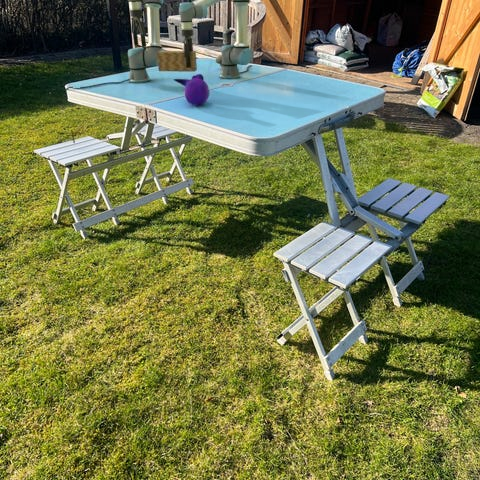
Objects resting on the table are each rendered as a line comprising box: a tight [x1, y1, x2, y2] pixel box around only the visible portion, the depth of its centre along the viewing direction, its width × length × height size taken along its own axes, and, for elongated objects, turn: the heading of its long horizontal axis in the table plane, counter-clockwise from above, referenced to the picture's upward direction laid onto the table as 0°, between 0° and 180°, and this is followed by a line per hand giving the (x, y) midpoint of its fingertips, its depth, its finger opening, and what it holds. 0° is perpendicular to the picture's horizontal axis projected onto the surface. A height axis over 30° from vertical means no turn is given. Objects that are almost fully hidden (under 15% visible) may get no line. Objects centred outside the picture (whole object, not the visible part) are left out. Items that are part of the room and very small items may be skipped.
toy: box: [173, 73, 210, 107], centre depth 272 cm, size 16×18×27 cm
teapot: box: [215, 55, 222, 68], centre depth 374 cm, size 21×12×15 cm, turn 120°
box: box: [157, 50, 198, 73], centre depth 304 cm, size 25×7×12 cm, turn 81°
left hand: (140, 45), depth 293 cm, fingers open, 13 cm apart
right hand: (189, 66), depth 304 cm, fingers closed on box, 7 cm apart
